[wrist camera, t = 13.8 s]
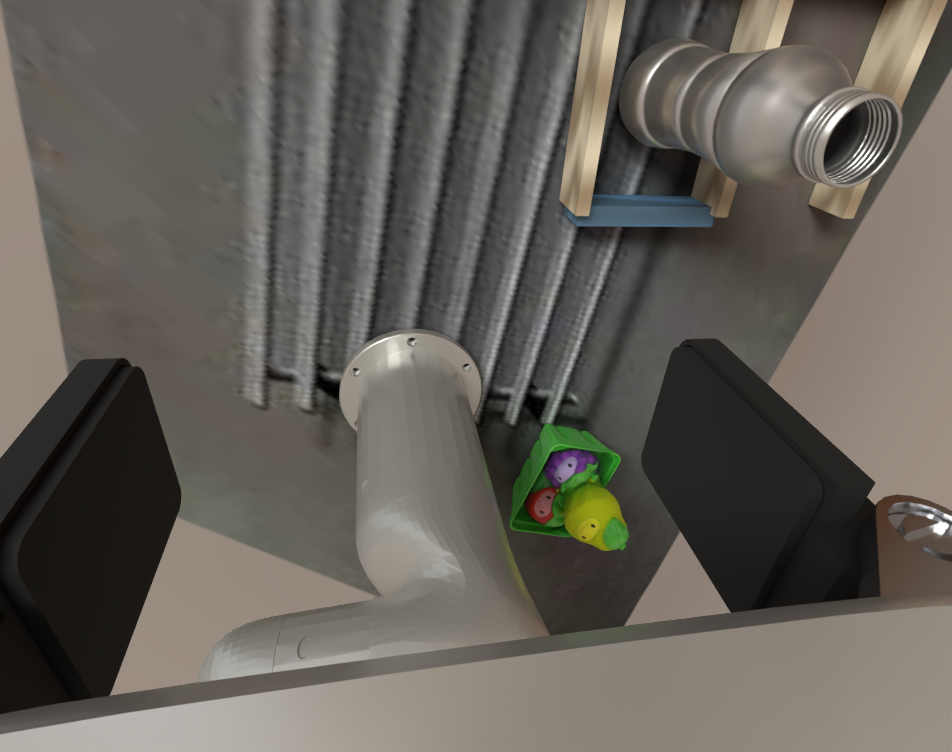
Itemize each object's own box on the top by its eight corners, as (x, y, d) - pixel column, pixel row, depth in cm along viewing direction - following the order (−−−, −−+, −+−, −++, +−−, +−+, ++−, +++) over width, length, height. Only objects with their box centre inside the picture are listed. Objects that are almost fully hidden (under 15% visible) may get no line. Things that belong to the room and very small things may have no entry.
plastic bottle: (598, 134, 40) (760, 216, 24) (625, 27, 37) (837, 36, 20) (676, 146, 42) (879, 231, 25) (709, 43, 38) (970, 65, 22)
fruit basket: (539, 409, 54) (576, 492, 44) (615, 426, 57) (664, 506, 47) (496, 493, 59) (521, 582, 50) (568, 504, 62) (604, 590, 53)
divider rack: (814, 216, 47) (847, 230, 44) (557, 213, 43) (573, 229, 40) (917, -48, 37) (970, -54, 34) (598, -83, 33) (624, -94, 30)
